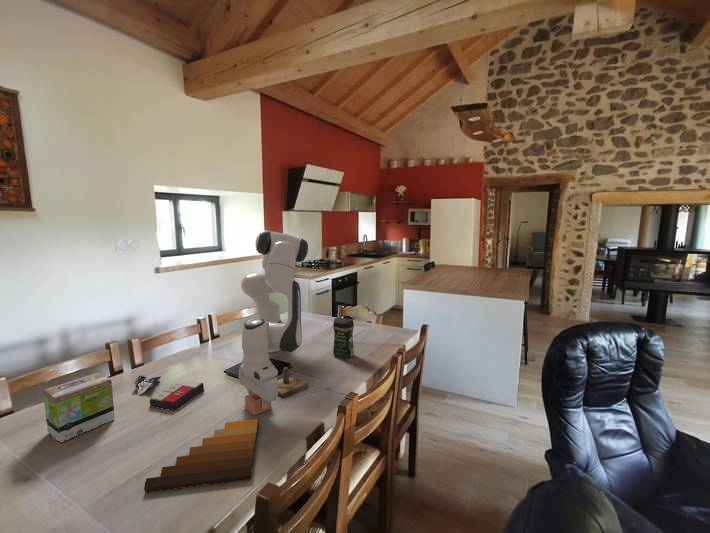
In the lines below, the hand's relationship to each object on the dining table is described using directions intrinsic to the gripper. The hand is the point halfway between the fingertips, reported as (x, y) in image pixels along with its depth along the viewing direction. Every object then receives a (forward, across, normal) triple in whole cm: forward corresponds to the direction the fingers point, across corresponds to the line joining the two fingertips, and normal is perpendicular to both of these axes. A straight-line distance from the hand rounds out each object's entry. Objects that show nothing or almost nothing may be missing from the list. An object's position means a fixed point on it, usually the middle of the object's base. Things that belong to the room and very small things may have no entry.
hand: (258, 403), depth 124 cm
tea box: (+2, -31, -45) cm, 55 cm away
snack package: (+2, -46, -23) cm, 51 cm away
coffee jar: (+2, -12, +53) cm, 54 cm away
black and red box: (+2, -27, -17) cm, 32 cm away
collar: (+2, 0, 0) cm, 2 cm away
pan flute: (+3, +11, -22) cm, 25 cm away
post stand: (+2, -6, +16) cm, 17 cm away
